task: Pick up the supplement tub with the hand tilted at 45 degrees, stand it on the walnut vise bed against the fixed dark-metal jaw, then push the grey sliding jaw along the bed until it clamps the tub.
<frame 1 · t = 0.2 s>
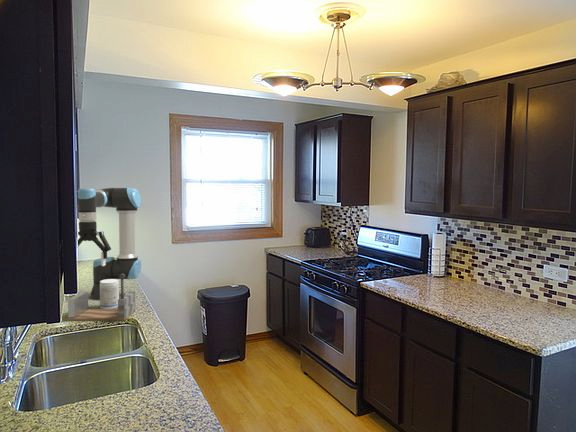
hand: (89, 265, 195), 27 cm above the worktop, tool pointing down, fingers open, 13 cm apart
front jaw: (78, 304, 207), point 6 cm above the worktop, slide at 0.0 cm
supplement tub: (109, 307, 222), on the worktop
vise bed: (101, 315, 208), on the worktop
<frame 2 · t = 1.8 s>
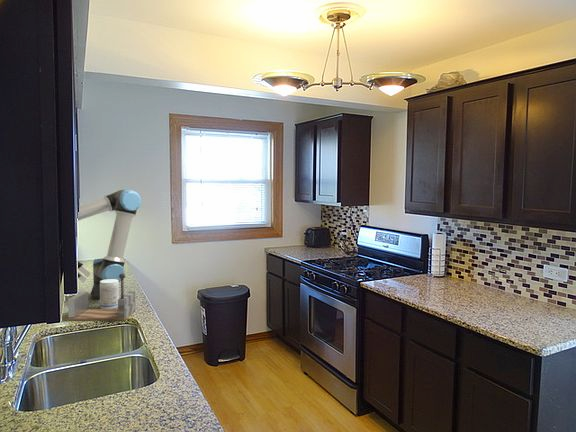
hand: (87, 278, 218), 17 cm above the worktop, tool tilted 45°, fingers open, 13 cm apart
nothing on the worktop moved.
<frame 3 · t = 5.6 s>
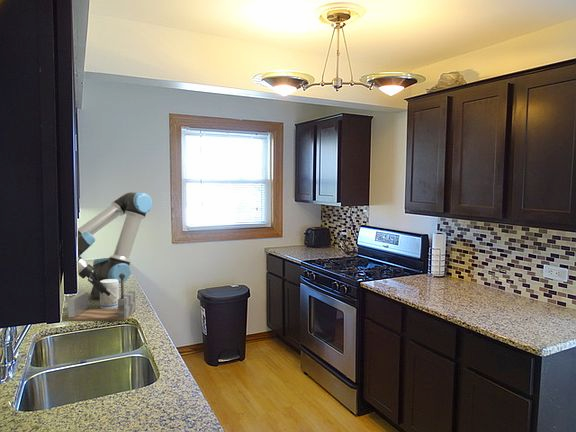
hand: (115, 296, 223), 6 cm above the worktop, tool tilted 45°, fingers closed on supplement tub, 9 cm apart
supplement tub: (109, 307, 222), on the worktop, touching gripper
everything else where it was.
when the fingers open (9 cm above the worktop, at t = 10.5 s): supplement tub drops 2 cm, resting on vise bed.
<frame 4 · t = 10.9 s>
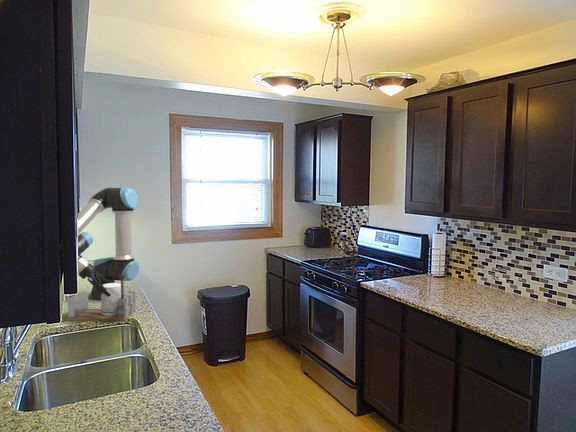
hand: (116, 296, 208), 10 cm above the worktop, tool tilted 45°, fingers open, 13 cm apart
supplement tub: (111, 314, 207), point 1 cm above the worktop, touching vise bed
everything else where it was.
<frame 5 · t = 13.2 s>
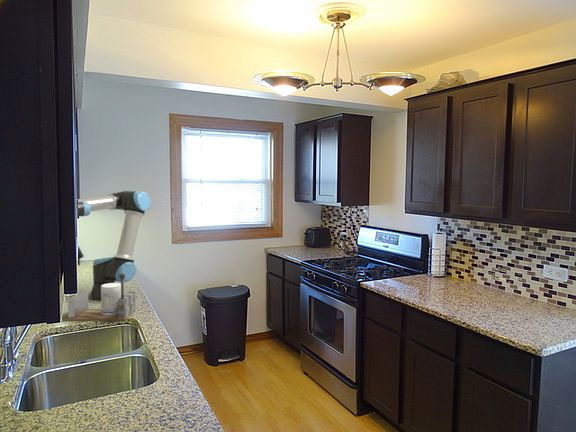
hand: (62, 272, 205), 22 cm above the worktop, tool pointing down, fingers open, 13 cm apart
nothing on the worktop moved.
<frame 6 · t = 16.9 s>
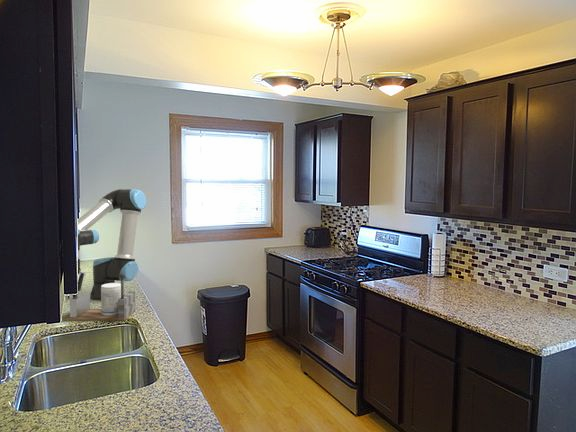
hand: (72, 305, 207), 5 cm above the worktop, tool pointing down, fingers closed
front jaw: (80, 304, 207), point 6 cm above the worktop, slide at 1.0 cm, touching gripper
everything else where it was.
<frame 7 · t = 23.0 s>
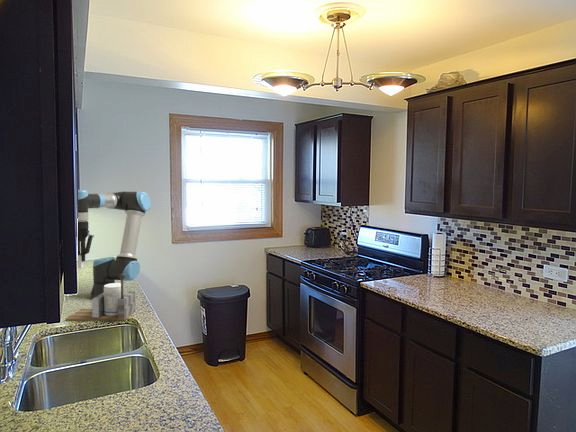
hand: (80, 267, 206), 24 cm above the worktop, tool pointing down, fingers closed
front jaw: (101, 304, 207), point 6 cm above the worktop, slide at 11.5 cm, touching supplement tub
supplement tub: (114, 314, 207), point 1 cm above the worktop, touching front jaw, vise bed
at the end: front jaw slide at 11.5 cm; supplement tub inside the target area (0.4 cm from its centre), point 1.0 cm above the worktop; supplement tub tilted 0° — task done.
